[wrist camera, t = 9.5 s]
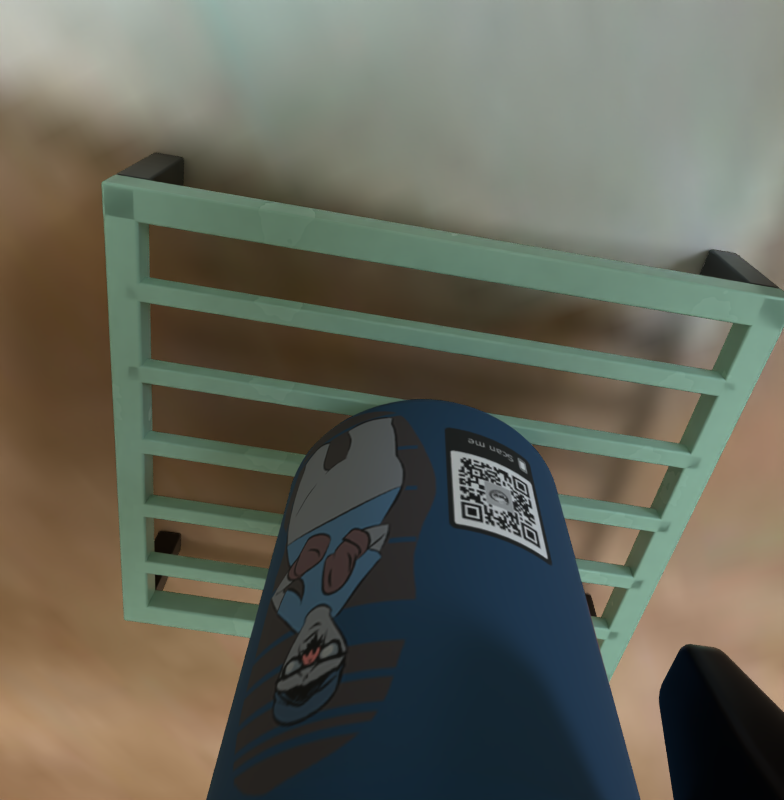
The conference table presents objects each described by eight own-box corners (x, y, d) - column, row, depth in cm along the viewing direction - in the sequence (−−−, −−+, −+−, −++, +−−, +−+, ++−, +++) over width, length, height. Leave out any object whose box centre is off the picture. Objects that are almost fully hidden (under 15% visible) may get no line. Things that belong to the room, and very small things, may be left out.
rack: (737, 253, 19) (797, 301, 16) (584, 609, 26) (606, 689, 23) (154, 151, 18) (100, 181, 15) (159, 546, 25) (123, 620, 22)
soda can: (473, 608, 21) (520, 1190, 11) (261, 528, 20) (84, 1101, 9) (600, 439, 18) (846, 1040, 8) (359, 331, 17) (250, 875, 6)
